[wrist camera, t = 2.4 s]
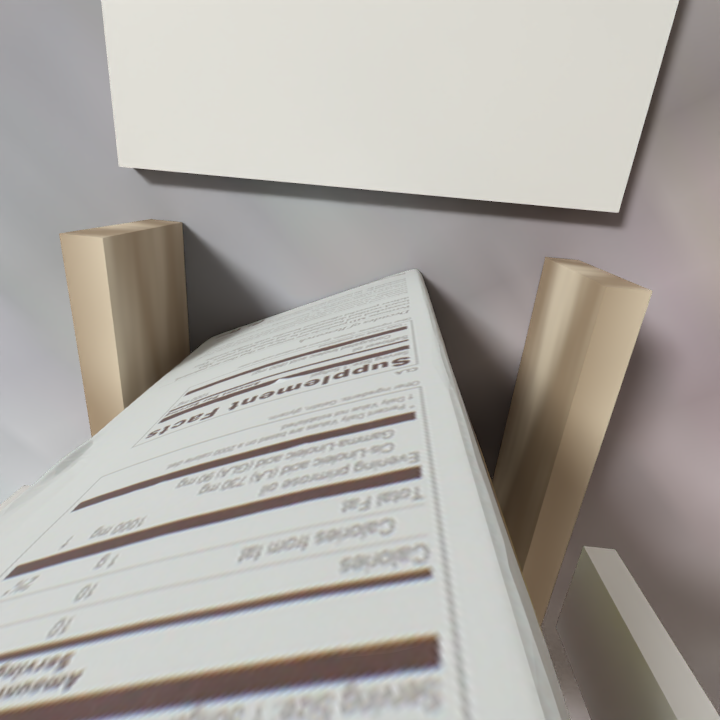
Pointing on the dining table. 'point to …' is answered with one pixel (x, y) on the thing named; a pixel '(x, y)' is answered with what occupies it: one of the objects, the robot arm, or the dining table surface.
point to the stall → (529, 401)
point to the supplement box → (277, 540)
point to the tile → (391, 93)
